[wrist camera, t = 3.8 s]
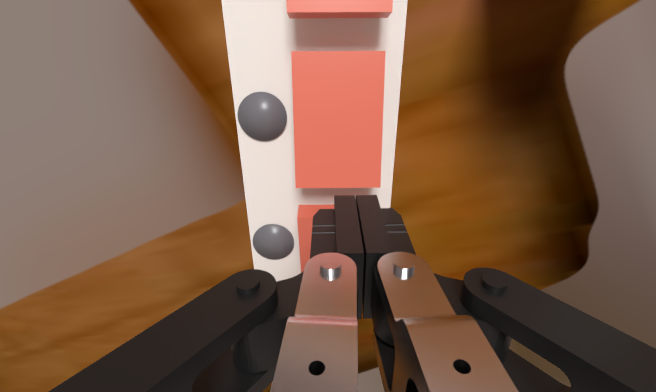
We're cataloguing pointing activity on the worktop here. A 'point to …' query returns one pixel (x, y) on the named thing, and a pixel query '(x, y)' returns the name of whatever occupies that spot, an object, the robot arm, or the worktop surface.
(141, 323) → the worktop surface
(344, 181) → the rocker middle
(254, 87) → the power strip
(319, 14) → the rocker
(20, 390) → the worktop surface
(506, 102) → the worktop surface
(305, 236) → the rocker
